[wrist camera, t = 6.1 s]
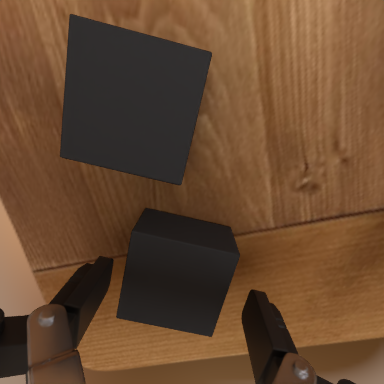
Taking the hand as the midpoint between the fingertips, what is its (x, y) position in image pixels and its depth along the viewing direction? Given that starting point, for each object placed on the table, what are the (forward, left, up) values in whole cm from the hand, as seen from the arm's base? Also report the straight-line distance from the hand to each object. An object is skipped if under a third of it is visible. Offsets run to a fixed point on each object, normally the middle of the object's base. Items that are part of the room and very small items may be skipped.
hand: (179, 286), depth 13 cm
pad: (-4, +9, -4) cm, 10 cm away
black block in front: (0, 0, -4) cm, 4 cm away
